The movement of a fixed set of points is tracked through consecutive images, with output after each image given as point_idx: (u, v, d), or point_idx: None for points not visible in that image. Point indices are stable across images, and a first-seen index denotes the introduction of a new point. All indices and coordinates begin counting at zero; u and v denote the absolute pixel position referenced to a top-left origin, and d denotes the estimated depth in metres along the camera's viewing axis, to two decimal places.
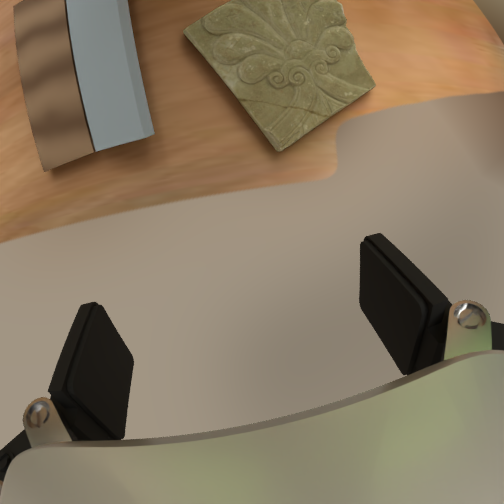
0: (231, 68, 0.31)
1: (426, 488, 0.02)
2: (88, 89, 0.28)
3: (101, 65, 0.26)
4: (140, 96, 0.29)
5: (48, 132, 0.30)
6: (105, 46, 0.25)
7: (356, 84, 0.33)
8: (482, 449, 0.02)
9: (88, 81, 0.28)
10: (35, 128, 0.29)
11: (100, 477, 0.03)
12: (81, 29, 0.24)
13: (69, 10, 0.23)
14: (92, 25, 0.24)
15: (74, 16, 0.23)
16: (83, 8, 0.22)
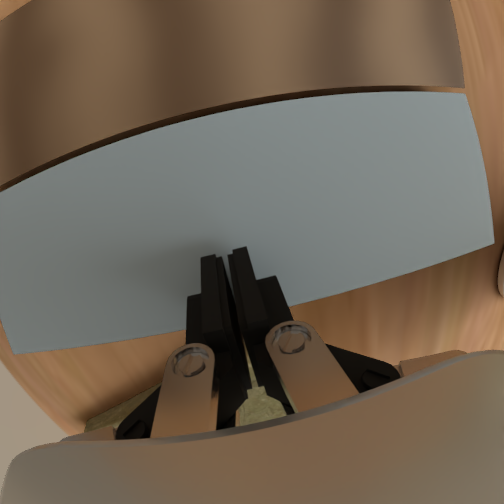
0: None
1: (426, 488, 0.02)
2: (94, 181, 0.11)
3: (155, 237, 0.11)
4: None
5: (7, 60, 0.08)
6: None
7: None
8: (482, 449, 0.02)
9: (117, 184, 0.11)
10: (25, 15, 0.07)
11: (100, 477, 0.03)
12: (298, 150, 0.11)
13: (374, 100, 0.11)
14: (299, 198, 0.12)
15: (351, 119, 0.11)
16: (365, 160, 0.11)
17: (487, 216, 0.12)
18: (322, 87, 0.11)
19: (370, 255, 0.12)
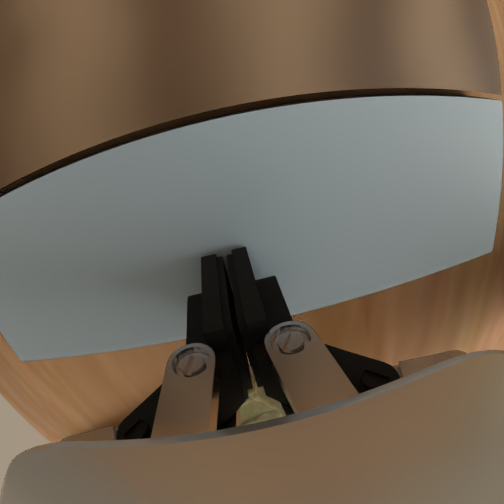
0: None
1: (426, 488, 0.02)
2: (77, 202, 0.09)
3: (156, 260, 0.11)
4: None
5: None
6: None
7: None
8: (482, 449, 0.02)
9: (105, 204, 0.09)
10: None
11: (100, 477, 0.03)
12: (318, 165, 0.10)
13: (409, 106, 0.09)
14: (313, 217, 0.11)
15: (380, 128, 0.09)
16: (388, 176, 0.10)
17: (492, 227, 0.12)
18: (352, 87, 0.09)
19: (375, 269, 0.12)
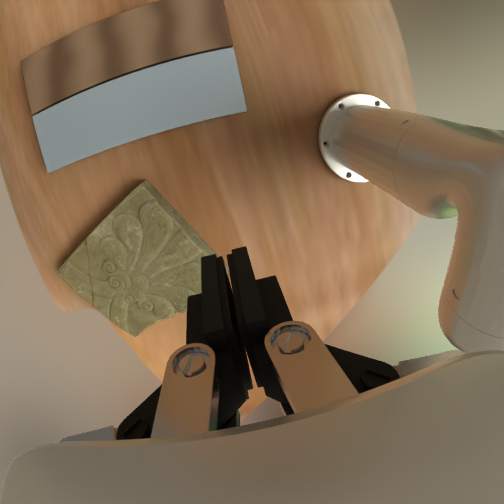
0: (110, 230, 0.37)
1: (426, 488, 0.02)
2: (85, 101, 0.29)
3: (106, 117, 0.30)
4: None
5: (53, 60, 0.25)
6: (124, 120, 0.31)
7: (128, 324, 0.44)
8: (482, 449, 0.02)
9: (93, 101, 0.29)
10: (59, 43, 0.24)
11: (100, 477, 0.03)
12: (151, 84, 0.29)
13: (181, 61, 0.29)
14: (151, 100, 0.30)
15: (170, 70, 0.29)
16: (175, 84, 0.30)
17: (241, 99, 0.32)
18: (160, 61, 0.28)
19: (177, 116, 0.32)
